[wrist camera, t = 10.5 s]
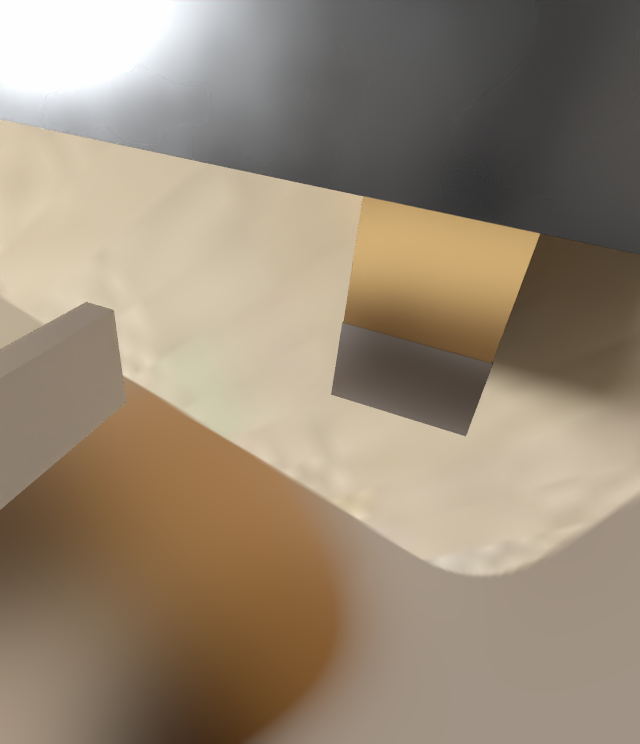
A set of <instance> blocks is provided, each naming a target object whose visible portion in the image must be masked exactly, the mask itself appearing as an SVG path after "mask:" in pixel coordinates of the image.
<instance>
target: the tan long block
mask: <svg viewBox="0 0 640 744" xmlns="http://www.w3.org/2000/svg"><path fill="white" fill-rule="evenodd" d="M539 236H540V233H535V232H531V231H526V230H521V229H516V228H512V227H507V226H502V225H497V224H493V223H488V222H483V221H479V220H474V219H469V218H464V217H460V216H455V215H450V214H445V213H441V212H436V211H431V210H426V209H422V208H417V207H412V206H408V205H403V204H398V203H393V202H389V201H384V200H379V199H374V198H370V197H365V196H363V201H362V208H361V214H360V221H359V227H358V233H357V240H356V246H355V253H354V259H353V265H352V272H351V278H350V285H349V291H348V297H347V304H346V310H345V317H344V321H343V323H342V329H341V335H340V342H339V348H338V354H337V361H336V367H335V374H334V380H333V387H332V393H331V395H335V396H338V397H341V398H344V399H347V400H351V401H354V402H357V403H360V404H364V405H367V406H370V407H373V408H376V409H380V410H383V411H386V412H389V413H393V414H396V415H399V416H402V417H405V418H409V419H412V420H415V421H418V422H422V423H425V424H428V425H431V426H434V427H438V428H441V429H444V430H447V431H450V432H454V433H457V434H460V435H463V436H466V434H467V432H468V429H469V426H470V424H471V421H472V418H473V416H474V413H475V410H476V408H477V405H478V402H479V400H480V397H481V394H482V392H483V389H484V386H485V384H486V381H487V378H488V376H489V373H490V370H491V368H492V365H493V359H494V356H495V354H496V351H497V348H498V346H499V343H500V340H501V337H502V335H503V332H504V329H505V327H506V324H507V321H508V319H509V316H510V313H511V311H512V308H513V305H514V303H515V300H516V297H517V295H518V292H519V289H520V287H521V284H522V281H523V278H524V276H525V273H526V270H527V268H528V265H529V262H530V260H531V257H532V254H533V252H534V249H535V246H536V244H537V241H538V238H539Z"/></svg>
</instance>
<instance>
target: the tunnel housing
mask: <svg viewBox="0 0 640 744" xmlns="http://www.w3.org/2000/svg"><path fill="white" fill-rule="evenodd" d="M0 119H1V120H5V121H10V122H15V123H20V124H24V125H29V126H34V127H38V128H43V129H48V130H53V131H57V132H62V133H67V134H72V135H76V136H81V137H86V138H91V139H95V140H100V141H105V142H109V143H114V144H119V145H124V146H128V147H133V148H138V149H143V150H147V151H152V152H157V153H161V154H166V155H171V156H176V157H180V158H185V159H190V160H195V161H199V162H204V163H209V164H214V165H218V166H223V167H228V168H232V169H237V170H242V171H247V172H251V173H256V174H261V175H266V176H270V177H275V178H280V179H285V180H289V181H294V182H299V183H303V184H308V185H313V186H318V187H322V188H327V189H332V190H337V191H341V192H346V193H351V194H355V195H360V196H365V197H370V198H374V199H379V200H384V201H389V202H393V203H398V204H403V205H408V206H412V207H417V208H422V209H426V210H431V211H436V212H441V213H445V214H450V215H455V216H460V217H464V218H469V219H474V220H479V221H483V222H488V223H493V224H497V225H502V226H507V227H512V228H516V229H521V230H526V231H531V232H535V233H540V234H545V235H550V236H554V237H559V238H564V239H568V240H573V241H578V242H583V243H587V244H592V245H597V246H602V247H606V248H611V249H616V250H620V251H625V252H630V253H635V254H639V255H640V0H0Z"/></svg>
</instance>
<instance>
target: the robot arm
mask: <svg viewBox="0 0 640 744" xmlns="http://www.w3.org/2000/svg"><path fill="white" fill-rule="evenodd" d="M125 403H126V398H125V390H124V383H123V376H122V368H121V361H120V353H119V346H118V338H117V331H116V323H115V316H114V310H112V309H108V308H105V307H101V306H98V305H95V304H91V303H88V302H86V303H84V304H82V305H80V306H78V307H77V308H75V309H73V310H71V311H69V312H67V313H66V314H64V315H62V316H60V317H58V318H56V319H55V320H53V321H51V322H49V323H47V324H45V325H44V326H42V327H40V328H38V329H36V330H34V331H33V332H31V333H29V334H27V335H25V336H23V337H22V338H20V339H18V340H16V341H14V342H12V343H11V344H9V345H7V346H5V347H4V348H2V349H0V509H1V508H3V507H4V506H5V505H6V504H7V503H9V501H11V500H12V499H13V498H14V497H16V496H17V495H18V494H19V493H20V492H21V491H23V490H24V489H25V488H26V487H27V486H28V485H30V484H31V483H32V482H33V481H34V480H36V479H37V478H38V477H39V476H40V475H41V474H42V473H44V472H45V471H46V470H47V469H49V468H50V467H51V466H52V465H53V464H54V463H56V462H57V461H58V460H59V459H60V458H62V457H63V456H64V455H65V454H66V453H67V452H69V451H70V450H71V449H72V448H73V447H74V446H76V445H77V444H78V443H79V442H80V441H82V440H83V439H84V438H85V437H86V436H87V435H89V434H90V433H91V432H92V431H93V430H94V429H96V428H97V427H98V426H99V425H100V424H102V423H103V422H104V421H105V420H106V419H107V418H109V417H110V416H111V415H112V414H113V413H115V412H116V411H117V410H118V409H119V408H120V407H122V406H123V405H124V404H125Z"/></svg>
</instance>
